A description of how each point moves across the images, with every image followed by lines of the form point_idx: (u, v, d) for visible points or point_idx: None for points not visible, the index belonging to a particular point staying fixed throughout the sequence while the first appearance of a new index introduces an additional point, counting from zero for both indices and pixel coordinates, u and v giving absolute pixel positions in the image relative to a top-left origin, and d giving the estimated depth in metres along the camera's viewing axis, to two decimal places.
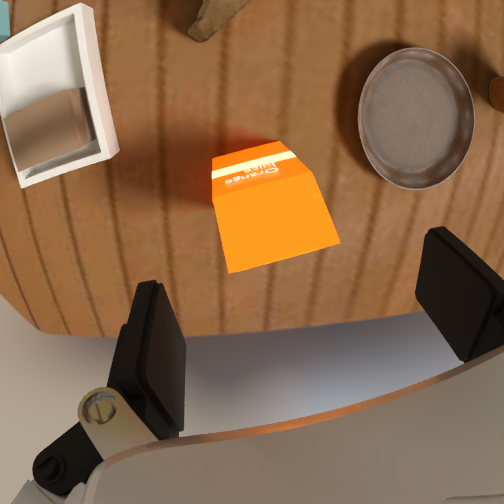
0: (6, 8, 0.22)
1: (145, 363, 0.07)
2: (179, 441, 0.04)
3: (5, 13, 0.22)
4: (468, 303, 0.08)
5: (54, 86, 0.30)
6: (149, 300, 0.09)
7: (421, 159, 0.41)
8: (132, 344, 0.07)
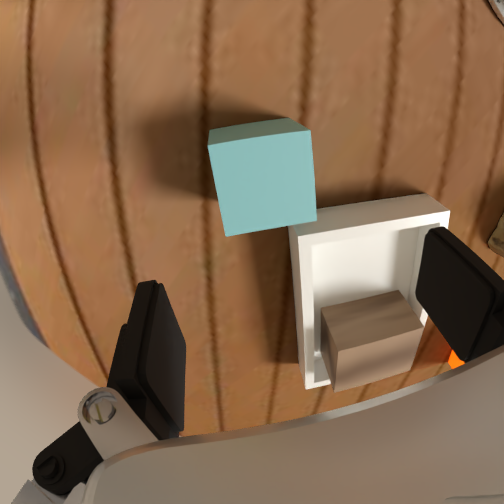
0: None
1: (145, 363, 0.07)
2: (179, 441, 0.04)
3: None
4: (468, 303, 0.08)
5: (366, 285, 0.31)
6: (149, 300, 0.09)
7: None
8: (132, 344, 0.07)
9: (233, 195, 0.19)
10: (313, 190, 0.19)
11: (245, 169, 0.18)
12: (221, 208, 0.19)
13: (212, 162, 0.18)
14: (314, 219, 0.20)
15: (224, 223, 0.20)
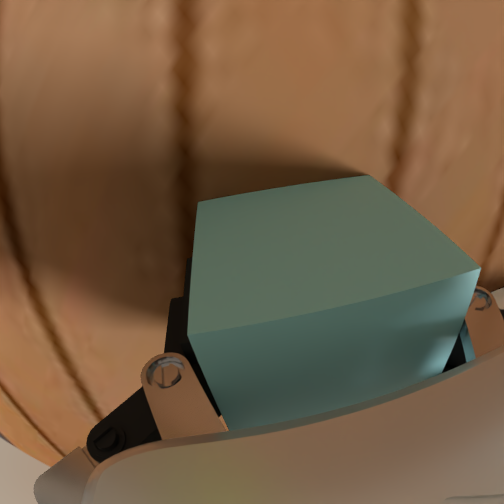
0: None
1: None
2: (179, 441, 0.04)
3: None
4: None
5: None
6: None
7: None
8: None
9: (265, 418, 0.07)
10: None
11: (301, 377, 0.06)
12: None
13: (207, 370, 0.06)
14: None
15: None
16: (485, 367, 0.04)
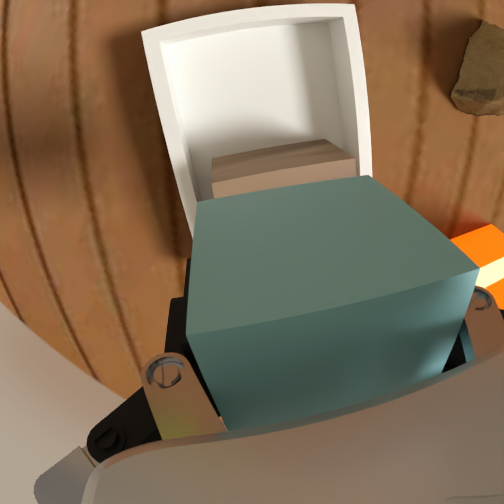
0: None
1: None
2: (179, 441, 0.04)
3: None
4: None
5: (271, 126, 0.23)
6: None
7: None
8: None
9: (264, 418, 0.07)
10: None
11: (300, 377, 0.06)
12: None
13: (205, 371, 0.06)
14: None
15: None
16: (485, 367, 0.04)
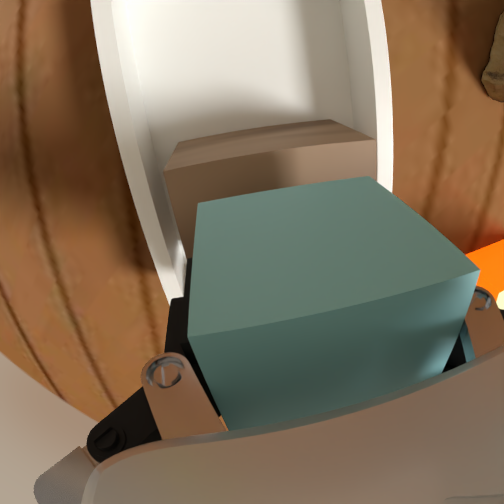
0: None
1: None
2: (179, 441, 0.04)
3: None
4: None
5: (258, 99, 0.16)
6: None
7: None
8: None
9: (265, 419, 0.07)
10: None
11: (301, 378, 0.06)
12: None
13: (207, 372, 0.06)
14: None
15: None
16: (485, 367, 0.04)
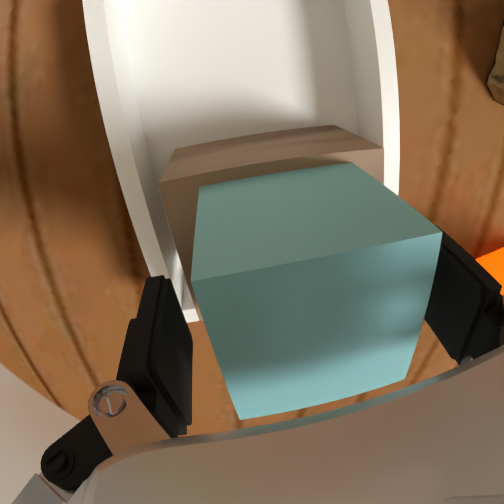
0: None
1: (155, 356, 0.07)
2: (179, 441, 0.04)
3: None
4: (459, 301, 0.08)
5: (259, 104, 0.16)
6: (158, 294, 0.09)
7: None
8: (142, 338, 0.07)
9: (257, 370, 0.08)
10: (414, 341, 0.09)
11: (287, 326, 0.08)
12: (230, 388, 0.09)
13: (206, 317, 0.07)
14: (401, 378, 0.10)
15: (237, 406, 0.09)
16: (485, 367, 0.04)
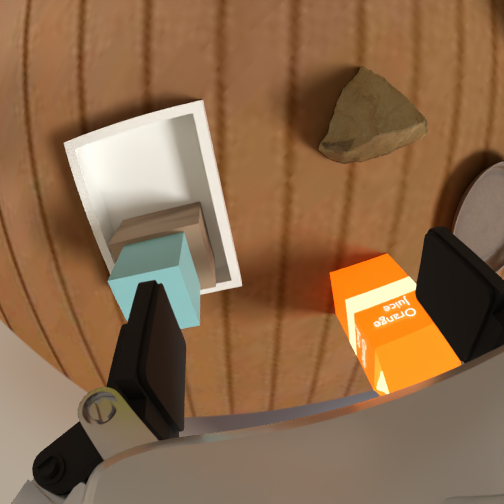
0: (186, 246, 0.28)
1: (145, 363, 0.07)
2: (179, 441, 0.04)
3: (189, 257, 0.29)
4: (468, 303, 0.08)
5: (159, 195, 0.33)
6: (149, 300, 0.09)
7: (486, 250, 0.43)
8: (132, 344, 0.07)
9: None
10: (191, 306, 0.25)
11: None
12: (127, 319, 0.25)
13: (113, 291, 0.24)
14: (197, 324, 0.26)
15: None
16: (485, 367, 0.04)
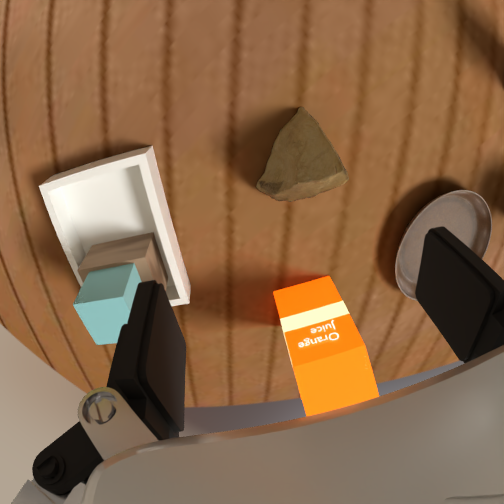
0: (136, 274, 0.34)
1: (145, 363, 0.07)
2: (179, 441, 0.04)
3: None
4: (468, 303, 0.08)
5: (119, 226, 0.38)
6: (149, 300, 0.09)
7: None
8: (132, 344, 0.07)
9: (93, 327, 0.30)
10: None
11: (95, 315, 0.29)
12: (89, 332, 0.31)
13: (78, 312, 0.29)
14: None
15: (93, 339, 0.31)
16: (485, 367, 0.04)
